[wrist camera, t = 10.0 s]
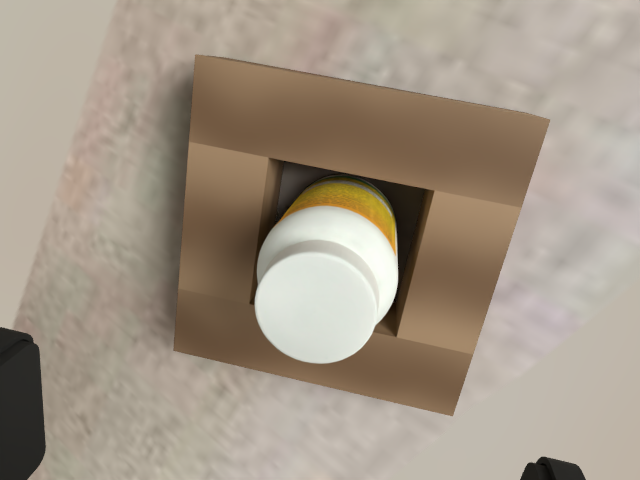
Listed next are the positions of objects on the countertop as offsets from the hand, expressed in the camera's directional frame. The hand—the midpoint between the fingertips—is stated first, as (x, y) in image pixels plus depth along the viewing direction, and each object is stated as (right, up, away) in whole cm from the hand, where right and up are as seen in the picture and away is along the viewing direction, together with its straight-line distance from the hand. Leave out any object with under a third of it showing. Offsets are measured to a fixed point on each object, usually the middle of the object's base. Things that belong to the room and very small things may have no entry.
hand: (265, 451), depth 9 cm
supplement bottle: (+2, +5, +15) cm, 16 cm away
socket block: (+2, +5, +15) cm, 16 cm away
